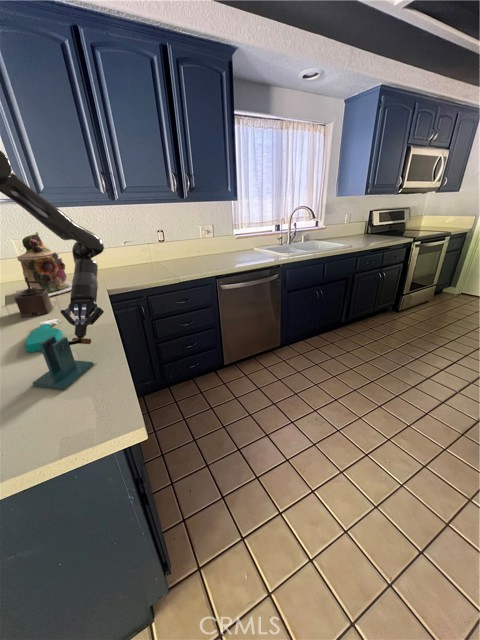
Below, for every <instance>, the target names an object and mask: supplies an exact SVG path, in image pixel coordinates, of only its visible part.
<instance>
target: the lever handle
mask: <svg viewBox="0 0 480 640" xmlns="http://www.w3.org/2000/svg"><path fill="white" fill-rule="evenodd" d="M56 342H57V341H53V342H48V351H54V349H53V346H52V345H53V344H54V343H56ZM68 342H69V345H70V346H73V345H78V344H79V345H80V344H81V345H90V344H91V343H92V339H91V338H87V337H84V338H78V337H73V338H72V339H71V340H68Z"/></svg>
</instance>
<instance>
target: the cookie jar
mask: <svg viewBox="0 0 480 640" xmlns="http://www.w3.org/2000/svg"><path fill="white" fill-rule="evenodd" d="M21 241H22V242H21V243H22V246H23V247H24V248H25V250H26V251H25V252H24V253H22V254H19V255H18V256H16V258H17V261H19V262H20V265H21V269H22V275H23V277H24V278H25V277H27V278H28V280H29V281H38V282H43V280H42V279H41V275H42V274H48V275H50V276H51V279H50V281H49V283H50V284H49V285H45V284H40V283H30V282H29V284H30V287H31V288H36V289H47V292H48V295H49V298H51V297H52V296H55V295H60V294H63V293H67V292H71V288H72V282H68V281H67V274H66V272H65V270H66V264H65V263H64V262H63V258H62V257H59V253H58V252H57V251H53V250H51V249H50V248H47V247H46V246H45V245H44V243H43V241H42V239H41V237H40V236H39V232H38V231H36V232H35V234H31V235H30V234H29V235H27V236H25V237H24V238H23V239H22V240H21ZM26 289H28V287H27V288H24V289H20V290H16V291H15V292H16V294H17V295H18V294H19V293H20V292H21V291H24V290H26Z"/></svg>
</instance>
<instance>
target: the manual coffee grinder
mask: <svg viewBox="0 0 480 640" xmlns="http://www.w3.org/2000/svg"><path fill="white" fill-rule="evenodd" d="M41 279H42V280H43V282H38V281H29V280H28V278H27V277H24V282H25V283H26V286H27V288H28V289H27V288H25V289H26V290H24V289H23V290H24V291H21V292H20V293H19V294H18V293H17V294H16V295H15V296H14V300H15V303H16V306H17V308H18V311H19V313H20V316H21V318H27V317H35V316H40V315H45V314H49V313H50V312H51V311H52V308H53V304H52V302H51V299H50V298H51V297H49V295H48V292H47V289H36V288H31V287H30V284H29V282H30V283H40V284H45V285H49V284H50V283H49V281H50V279H51V276H50V275H48V274H42V275H41Z"/></svg>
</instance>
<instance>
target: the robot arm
mask: <svg viewBox="0 0 480 640" xmlns="http://www.w3.org/2000/svg"><path fill="white" fill-rule="evenodd" d="M10 161H11V160H10V159H9V157H8V156H7V155H6V154H5V153H4V152H3V151H2V150H0V193H1V194H3V195H4V196H6V197H7V198H9V199H10V200H12V201H13V202H14V203H16V204H17V205H18V206H19V207H21V208H22V209H24V210H25V211H26V212H27V213H28V214H29V215H31V216H32V217H33V218H34V219H36V220H38V222H40V224H42V225H43V226H44V227H45V228H47V229H48V230H49V231H50V232H52V233H53V234H55V236H57V237H58V238H59V239H61V240H63V241H71V240H73V241H75V242H74V244H73V246H72V248H71V249H72V251H71V253H72V258H73V263H74V270H73V277H72V280H71V281H72V282H71V283H72V288H71V291H70V298H69V300H70V302H69V304H68V307H66V309H61V310H60V314H61V315H62V317H63V318H64V319H65V320H66V321H67V322H68V323H69V324H70V325H71V326H73V327H74V335H75V338H85V336H86V335H87V328H88V326H90V325H91V326H92V325H93V326H94V324H95V323H96V322H97V321H98V320H99V318H101V316H102V315H103V314H104V312H105V311H104V309H102V308H101V307H98V304H97V300H98V298H97V297H98V288H99V285H98V284H99V282H98V274H99V273H98V272H99V266H98V265H99V264H98V263H97V262H96V261H95V260H94V259H93V258H94V257H97V256H98V255H101V254H102V253H103V252H104V250H105V245H104V243H103V241H102V239H101V238H100V237H99V236H98V235H96V233H93V231H90V230H88V229H86V228H85V227H83V226H81V225H79V224H77V223H76V222H74V221H73V219H71V218H70V217H69V216H68V215H67V214H65V212H63V211H62V210H60V209H59V208H58V207H57V206H55V205H54V204H52V203H51V202H50V201H49V200H47V199H45V198H44V197H42V195H39V193H37V192H36V191H34V190H33V189H32V188H31V187H29V186H28V185H27V184H26V182H24V180H22V179H21V178H20V177H19V176H18V175H17V174H16V173H15V172H14V170H13V169H12V167H13V166H12V163H11V162H10ZM72 314H73V317H72V316H71V315H72Z"/></svg>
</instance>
